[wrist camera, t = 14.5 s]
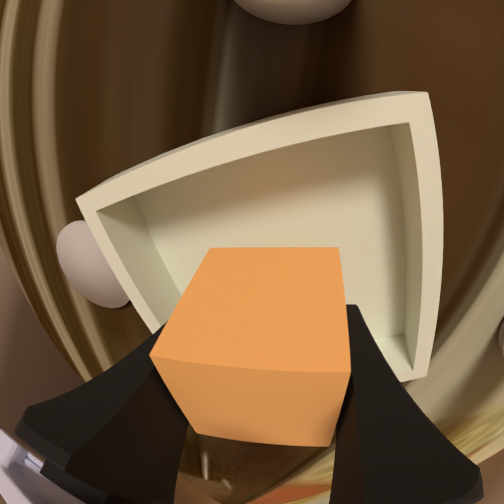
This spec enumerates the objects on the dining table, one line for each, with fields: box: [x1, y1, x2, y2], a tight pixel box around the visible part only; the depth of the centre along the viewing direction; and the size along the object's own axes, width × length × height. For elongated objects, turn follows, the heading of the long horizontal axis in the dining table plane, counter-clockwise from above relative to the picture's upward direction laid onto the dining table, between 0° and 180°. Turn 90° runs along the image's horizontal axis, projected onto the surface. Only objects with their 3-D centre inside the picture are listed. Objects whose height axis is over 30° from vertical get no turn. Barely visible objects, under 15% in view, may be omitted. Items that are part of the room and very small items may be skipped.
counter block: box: [149, 247, 351, 446], centre depth 9 cm, size 4×4×5 cm
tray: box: [76, 91, 443, 382], centre depth 12 cm, size 13×13×3 cm
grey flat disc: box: [57, 221, 130, 308], centre depth 16 cm, size 6×6×1 cm
